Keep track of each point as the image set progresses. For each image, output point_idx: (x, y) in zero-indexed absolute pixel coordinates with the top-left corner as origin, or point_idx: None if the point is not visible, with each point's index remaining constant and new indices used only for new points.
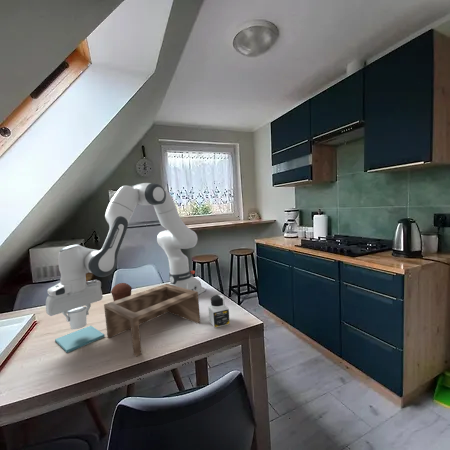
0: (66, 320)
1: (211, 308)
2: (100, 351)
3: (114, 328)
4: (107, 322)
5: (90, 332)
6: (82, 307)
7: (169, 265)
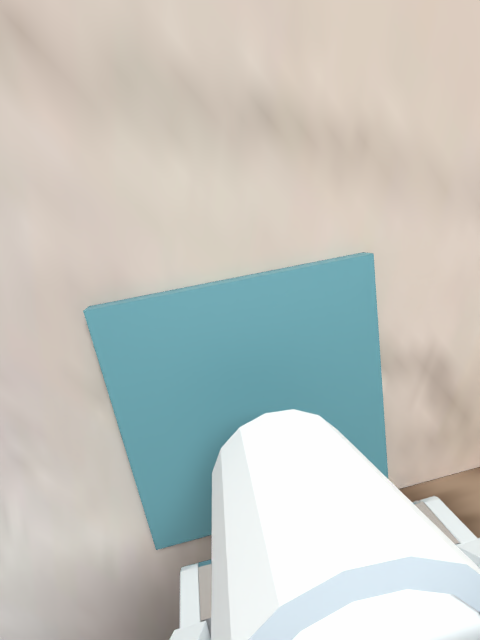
0: (181, 569)
1: None
2: None
3: None
4: None
5: (332, 391)
6: (472, 627)
7: None
